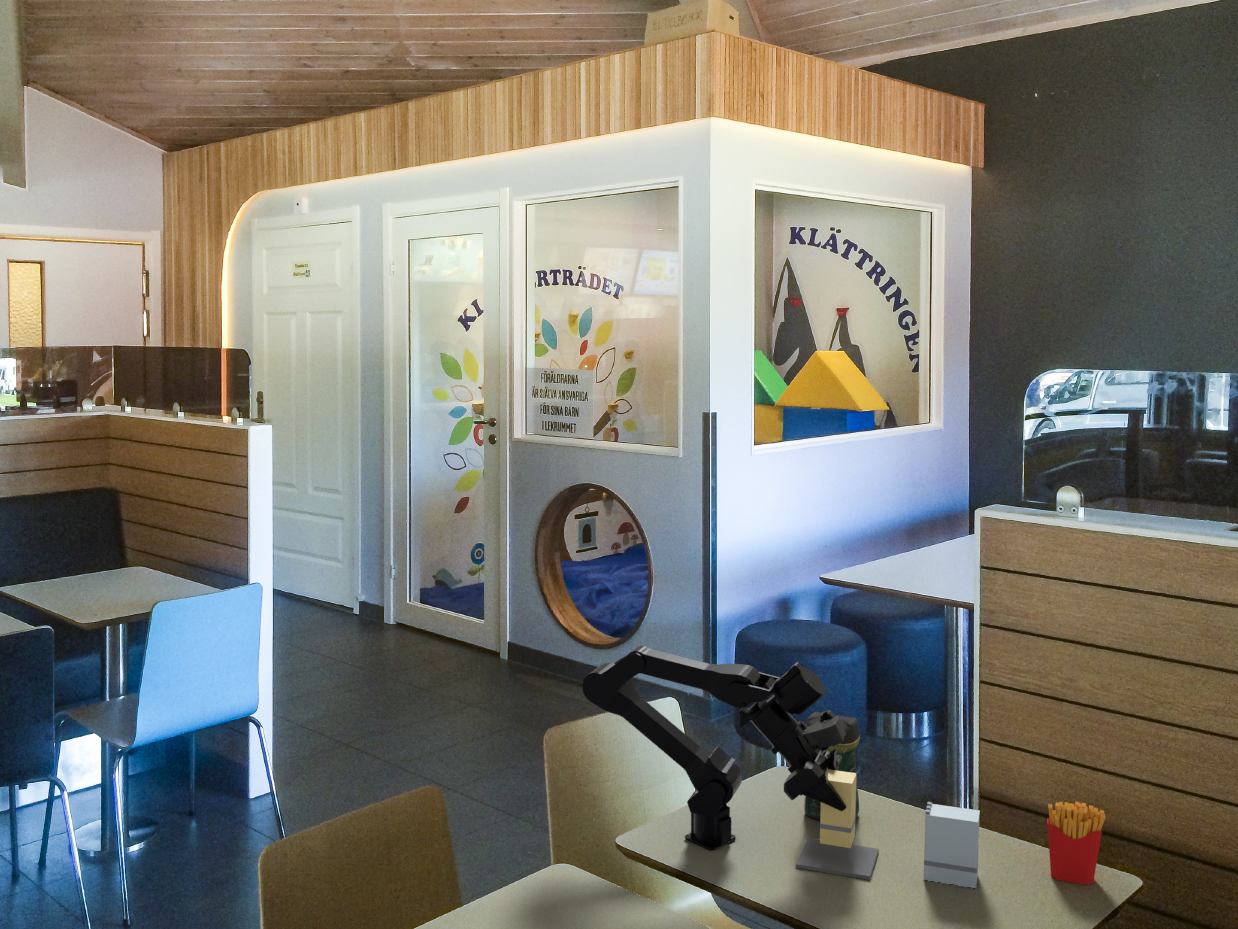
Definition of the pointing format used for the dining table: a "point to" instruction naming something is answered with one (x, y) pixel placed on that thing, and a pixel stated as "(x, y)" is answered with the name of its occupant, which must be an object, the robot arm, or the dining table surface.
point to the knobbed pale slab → (951, 845)
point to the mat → (838, 859)
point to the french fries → (1074, 841)
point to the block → (838, 823)
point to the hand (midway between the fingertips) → (846, 803)
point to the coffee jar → (838, 758)
